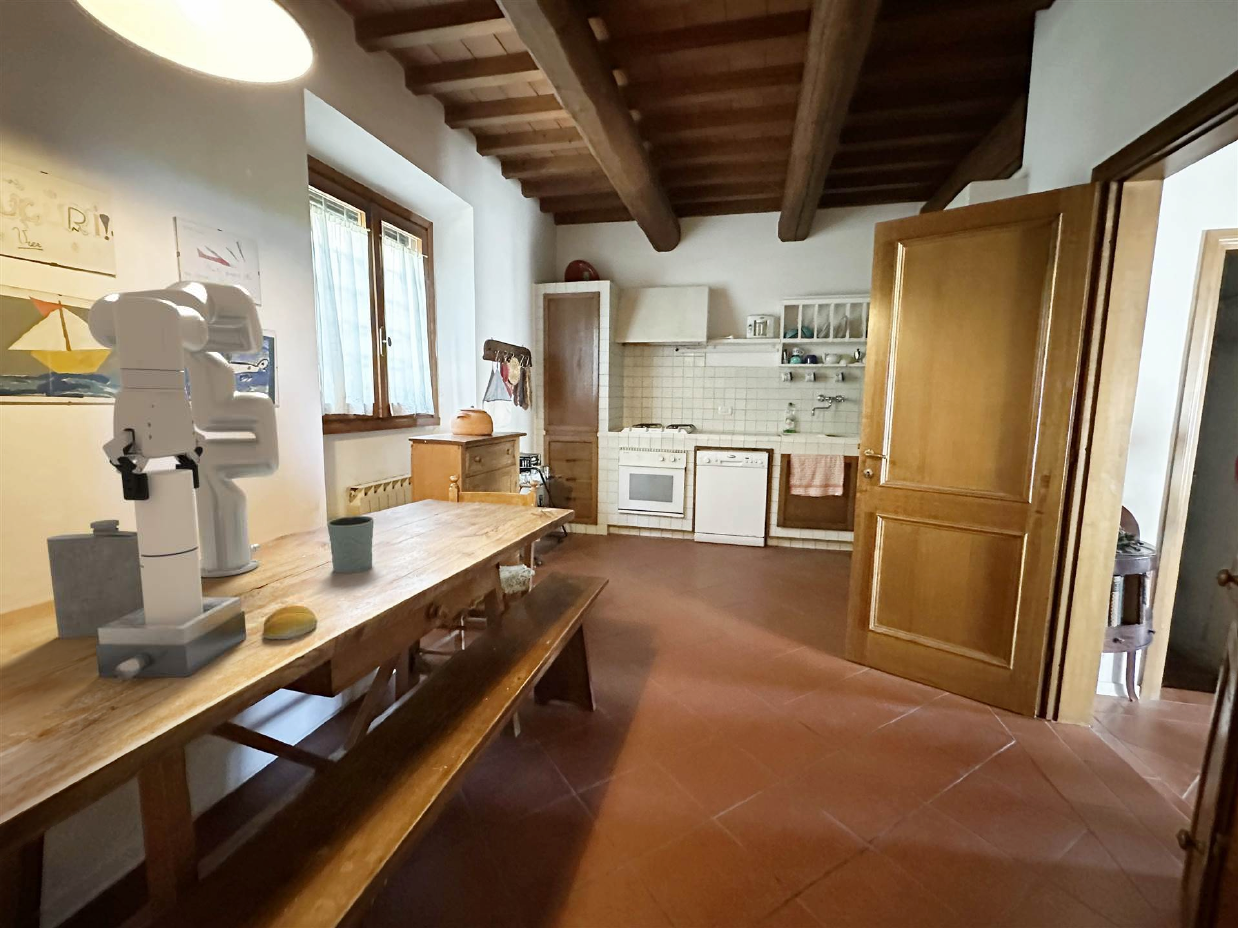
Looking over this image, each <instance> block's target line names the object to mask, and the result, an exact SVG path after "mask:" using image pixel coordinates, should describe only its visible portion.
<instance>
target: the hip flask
mask: <svg viewBox="0 0 1238 928" xmlns="http://www.w3.org/2000/svg"><path fill="white" fill-rule="evenodd" d="M89 525H90V529H93V530H92V533H79V534H78V533H77V534H63V535H62V534H61V535H54V536H50V537H47V538H46V544H47V551H48V560H49V562H48V563H49V568H50V577H51V586H52V594H53V601H54V613H55V619H56V626H57V627H56V628H57V637H58V638H59V639H62V640H63V639H64V638H65V639H73V638H82V637H96V636H98V637H99V634H98V628H100V627H102V626H104V625H106V624H108V623H111V622H113V621H115V620H117V619H119V618H122V617H124V616H126V615H128V614H130V613H133V612H135V611H137V610H139V609H141V608H144V602H143V591H142V580H141V569H140V558H139V547H138V537H137V531H128V530H119V529H120V528H119V527H118V526H120V520H119V519H104V520H96V521H92V522H90V524H89Z"/></svg>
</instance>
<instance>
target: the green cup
mask: <svg viewBox="0 0 1238 928" xmlns="http://www.w3.org/2000/svg"><path fill="white" fill-rule="evenodd" d="M326 524H327V532H328V535H329V542H330V550H331V551H330V552H331V561H332V568H333V571H334V572H335V573H337V574H353V573H359V572H363V571H366V570H369V569H370V568H372V566H373V552H372V551H373V537H374V518H373V517H371V516H366V515H365V516H364V515H351V516H342V517H336V518H333V519H330V520H328V521H327V523H326Z"/></svg>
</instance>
